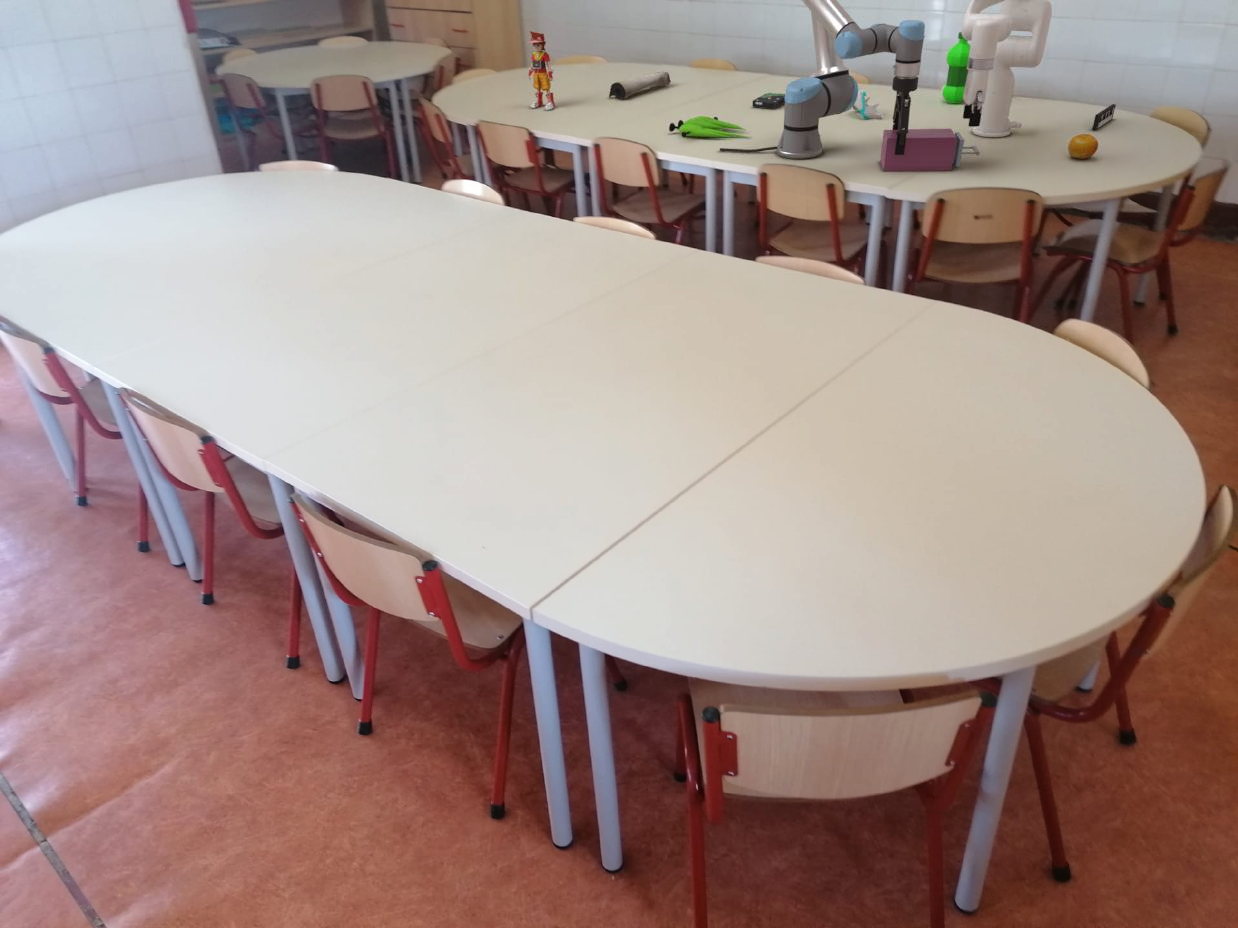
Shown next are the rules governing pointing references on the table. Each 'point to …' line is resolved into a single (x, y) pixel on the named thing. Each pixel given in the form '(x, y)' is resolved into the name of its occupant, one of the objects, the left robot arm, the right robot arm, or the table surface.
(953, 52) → the plastic bottle
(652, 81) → the rolled mat
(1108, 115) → the midi keyboard
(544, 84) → the toy
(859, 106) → the anatomical model
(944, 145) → the cabinet
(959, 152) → the drawer
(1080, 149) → the fruit
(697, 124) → the toy
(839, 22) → the left robot arm
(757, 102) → the disk drive
